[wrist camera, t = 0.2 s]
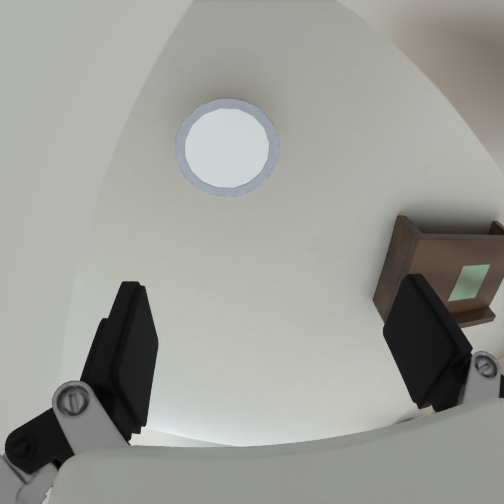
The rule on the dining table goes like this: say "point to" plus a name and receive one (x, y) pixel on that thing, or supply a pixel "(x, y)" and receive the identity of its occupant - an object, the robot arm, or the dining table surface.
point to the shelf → (446, 269)
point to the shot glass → (227, 147)
